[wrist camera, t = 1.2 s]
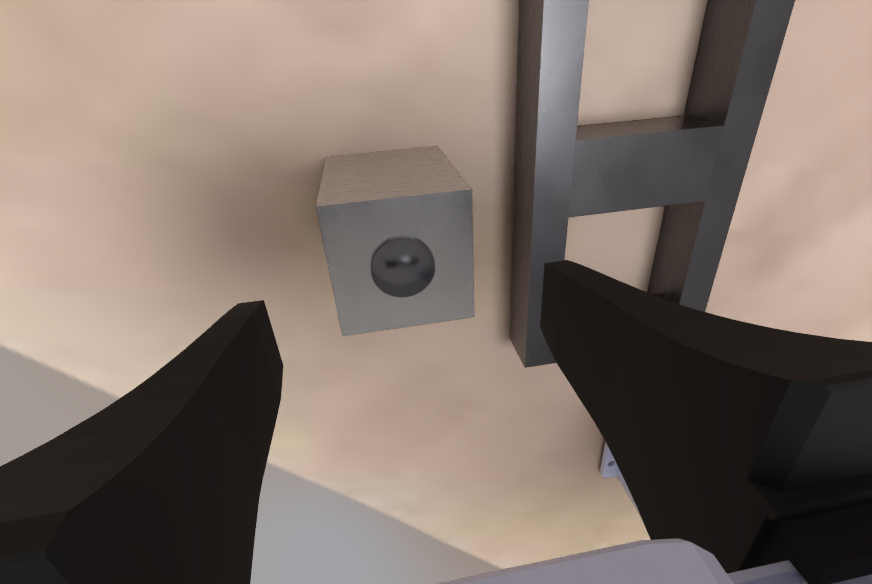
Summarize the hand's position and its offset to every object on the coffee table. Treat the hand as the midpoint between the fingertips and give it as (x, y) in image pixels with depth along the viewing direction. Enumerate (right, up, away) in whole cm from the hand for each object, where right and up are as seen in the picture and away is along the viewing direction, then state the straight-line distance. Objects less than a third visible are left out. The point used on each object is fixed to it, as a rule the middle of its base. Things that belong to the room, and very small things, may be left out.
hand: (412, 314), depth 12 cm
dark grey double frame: (+8, +6, +8) cm, 13 cm away
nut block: (-1, +4, +8) cm, 9 cm away
